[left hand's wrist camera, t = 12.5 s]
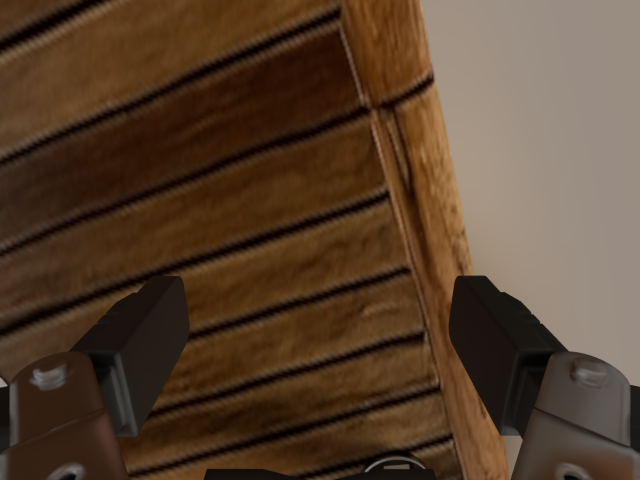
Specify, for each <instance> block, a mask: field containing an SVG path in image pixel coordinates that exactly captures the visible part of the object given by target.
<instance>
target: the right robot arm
mask: <svg viewBox="0 0 640 480" xmlns="http://www.w3.org/2000/svg"><path fill="white" fill-rule="evenodd" d="M5 386H7V384H6V383H5V382H4V381H3V380H2V378H1V377H0V387H5Z"/></svg>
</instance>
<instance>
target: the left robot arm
mask: <svg viewBox="0 0 640 480" xmlns="http://www.w3.org/2000/svg"><path fill="white" fill-rule="evenodd" d="M449 335H450V340H451V343H452V345H453V347H454V349H455V350H456V352H457V354H458V356H459V358H460V360H461V362H462V364H463V366H464V368H465V369H466V371H467V373H468V375H469V377H470V379H471V381H472V383H473V385H474V387H475V388H476V390H477V392H478V394H479V396H480V398H481V400H482V402H483V404H484V406H485V407H486V409H487V411H488V413H489V415H490V417H491V419H492V421H493V423H494V424H495V426H496V428H497V430H498V432H499V434H500V436H506V435H507V436H509V435H510V436H511V435H512V436H513V435H515V436H516V435H517V436H518V435H519V436H521V438H522V439H523V441H522V445H521V448H520V451H519V454H518V458H517V461H516V464H515V467H514V470H513V473H512V477H511V480H640V387H638V386H633V385H630V384H629V382H628V380H627V378H626V377H625V376H624V375H623V374H622V373H621V372H620V371H619V370H618V369H616V368H615V367H613V366H612V365H610V364H608V363H607V362H605V361H603V360H600V359H598V358H596V357H593V356H590V355H587V354H583V353H578V352H570V351H568V350H567V349H566V348H565V347H564V346H563V345H562V344H561V343H560V342H559V341H558V340H557V338H556V337H555V336H554V335H553V334H552V333H551V332H550V331H549V330H548V329H547V328H546V327H545V326H544V325H543V324H540V321H539V320H538V319H537V318H536V317H535V316H534V315H533V314H531V312H530V310H528V308H527V307H526V306H525V305H524V304H523V303H522V302H521V301H519V300H517V299H516V298H514V297H512V296H510V295H509V294H507V293H505V292H500V291H499V290H498V289H497V288H496V287H495V286H494V284H493V283H492V282H491V281H490V280H489V279H488V278H487V277H486V276H457V278H456V280H455V283H454V289H453V297H452V304H451V311H450V318H449ZM188 336H189V318H188V311H187V304H186V297H185V290H184V284H183V280H182V278H181V277H180V276H153V277H151V278H150V279H149V280H148V281H147V282H146V284H145V285H144V286H143V287H142V288H141V289H140V290H139V291H138V292H137V293H132V294H130V295H128V296H127V297H125V298H123V299H121V300H120V301H118V302H116V303H115V304H114V305H113V306H112V308H111V309H110V310H109V311H108V312H107V313H106V315H104V316H103V317H102V318H101V319H100V320H99V321H98V322H97V325H94V326H93V327H92V328H91V329H90V330H89V331H88V332H87V333H86V334H85V335H84V336H83V337H82V338H81V339H80V340H79V341H78V342H77V343H76V344H75V346H74V347H73V348H72V349H71V350H70V351H69V352H62V353H57V354H53V355H50V356H47V357H44V358H42V359H39V360H37V361H35V362H33V363H32V364H30V365H28V366H27V367H25V368H24V369H22V370H21V371H20V372H19V373H18V374H17V375H16V376H15V377H14V378H13V380H12V382H11V384H10V385H9V386H5V387H0V480H129V477H128V473H127V470H126V467H125V464H124V461H123V457H122V454H121V451H120V448H119V445H118V441H117V438H116V437H137V435H138V434H139V432H140V430H141V428H142V426H143V424H144V422H145V420H146V419H147V417H148V415H149V413H150V411H151V409H152V407H153V405H154V404H155V402H156V400H157V398H158V396H159V394H160V392H161V390H162V389H163V387H164V385H165V383H166V381H167V379H168V377H169V375H170V374H171V372H172V370H173V368H174V366H175V364H176V362H177V360H178V359H179V357H180V355H181V353H182V351H183V349H184V347H185V345H186V343H187V340H188ZM204 480H304V479H300V478H296V477H292V476H288V475H284V474H280V473H277V472H273V471H269V470H265V469H207V471H206V474H205V477H204ZM336 480H436V477H435V474H434V471H433V469H427V467H426V466H425V464H424V463H423V462H422V461H421V460H419V459H418V458H416V457H414V456H411V455H408V454H402V453H392V454H386V455H382V456H380V457H377V458H375V459H374V460H372V461H371V462H369V463H368V464H367V465H366V466H365V467H364V469H363V471H362V473H360V474H356V475H352V476H348V477H344V478H340V479H336Z"/></svg>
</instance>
